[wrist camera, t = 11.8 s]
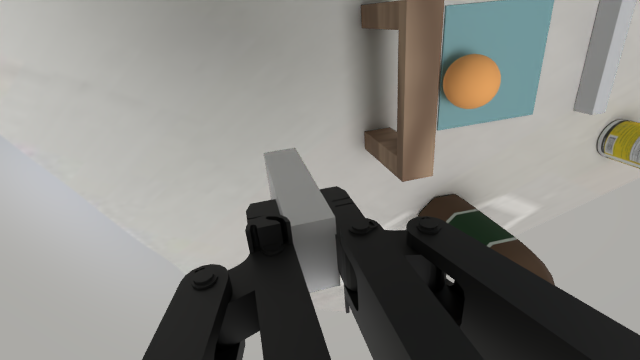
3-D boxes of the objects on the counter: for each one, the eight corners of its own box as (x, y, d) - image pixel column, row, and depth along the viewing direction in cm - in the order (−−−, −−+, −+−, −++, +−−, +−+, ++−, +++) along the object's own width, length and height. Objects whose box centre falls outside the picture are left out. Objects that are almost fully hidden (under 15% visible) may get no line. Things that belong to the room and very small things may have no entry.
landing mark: (445, 5, 35) (446, 5, 35) (553, -5, 37) (555, -5, 37) (437, 129, 40) (438, 130, 40) (531, 113, 43) (532, 114, 43)
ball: (515, 56, 32) (495, 51, 37) (453, 57, 33) (442, 51, 38) (502, 115, 34) (485, 102, 39) (445, 114, 35) (435, 102, 40)
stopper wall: (603, -14, 38) (626, -17, 36) (617, -16, 39) (641, -18, 36) (573, 110, 44) (592, 115, 42) (586, 108, 45) (605, 112, 43)
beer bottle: (430, 186, 44) (626, 341, 22) (476, 198, 46) (690, 346, 25) (405, 238, 46) (561, 421, 25) (450, 246, 49) (625, 418, 28)
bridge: (364, 148, 39) (402, 181, 31) (361, 5, 33) (406, -1, 25) (389, 144, 40) (432, 175, 32) (390, 2, 33) (444, -4, 25)
